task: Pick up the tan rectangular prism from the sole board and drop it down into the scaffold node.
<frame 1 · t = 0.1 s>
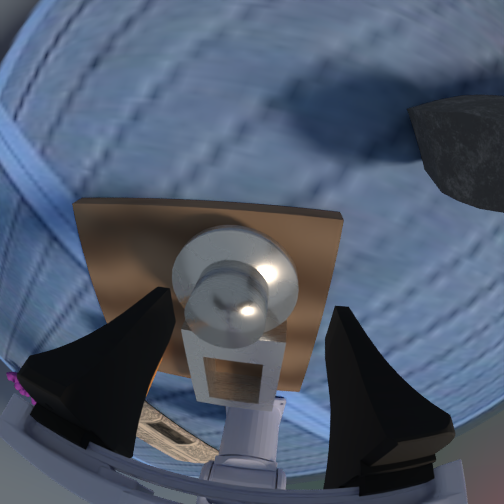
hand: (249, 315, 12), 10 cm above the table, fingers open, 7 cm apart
sole board: (199, 307, 25), on the table
purple knobby piece: (32, 379, 51), on the table
newspaper: (144, 419, 45), on the table
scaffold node: (238, 355, 26), resting on sole board
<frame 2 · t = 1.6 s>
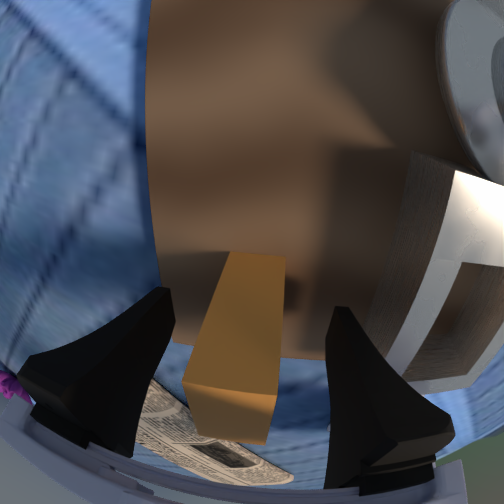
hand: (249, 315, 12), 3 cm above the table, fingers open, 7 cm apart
tan rectangular prism: (255, 289, 13), point 1 cm above the table, touching sole board
sole board: (391, 185, 11), on the table
purple knobby piece: (18, 378, 37), on the table
newspaper: (179, 435, 31), on the table
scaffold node: (441, 287, 12), resting on sole board
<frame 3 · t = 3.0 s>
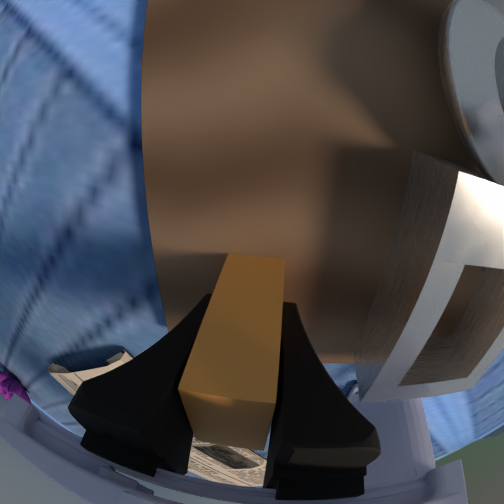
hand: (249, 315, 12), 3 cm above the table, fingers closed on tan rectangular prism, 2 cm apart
tan rectangular prism: (254, 291, 13), point 1 cm above the table, touching gripper, sole board
sole board: (392, 186, 11), on the table
purple knobby piece: (17, 379, 37), on the table
newspaper: (181, 436, 30), on the table
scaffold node: (442, 289, 12), resting on sole board
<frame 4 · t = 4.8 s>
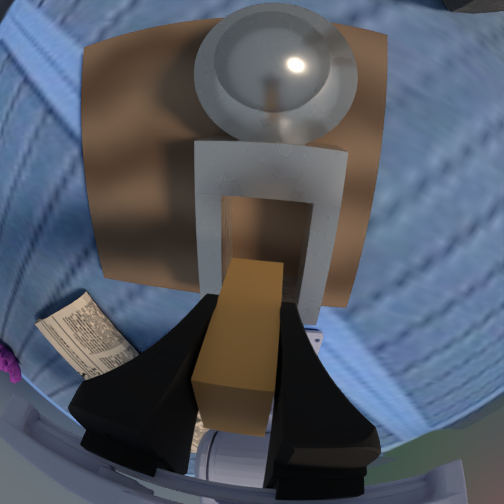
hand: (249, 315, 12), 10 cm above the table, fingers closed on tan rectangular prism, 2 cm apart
tan rectangular prism: (255, 292, 14), point 8 cm above the table, touching gripper
sole board: (216, 161, 19), on the table
purple knobby piece: (10, 351, 44), on the table
newspaper: (138, 390, 37), on the table
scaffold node: (267, 232, 19), resting on sole board
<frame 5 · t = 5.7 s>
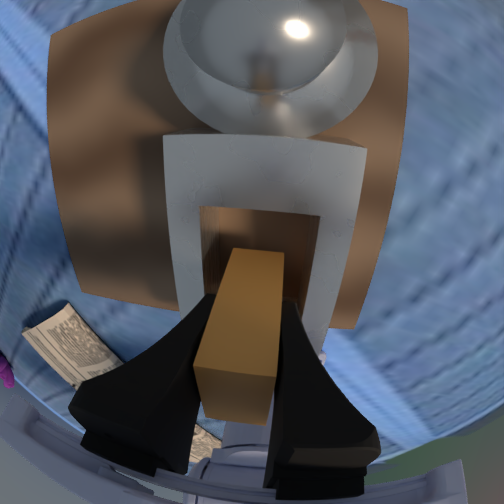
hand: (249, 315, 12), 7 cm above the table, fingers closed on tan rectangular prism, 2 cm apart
tan rectangular prism: (256, 282, 15), point 4 cm above the table, touching gripper
sole board: (199, 159, 15), on the table
purple knobby piece: (3, 355, 41), on the table
newspaper: (131, 401, 34), on the table
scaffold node: (261, 245, 16), resting on sole board
when the fingers open (6 cm above the table, at t = 6.9 s): tan rectangular prism stays where it is, resting on sole board.
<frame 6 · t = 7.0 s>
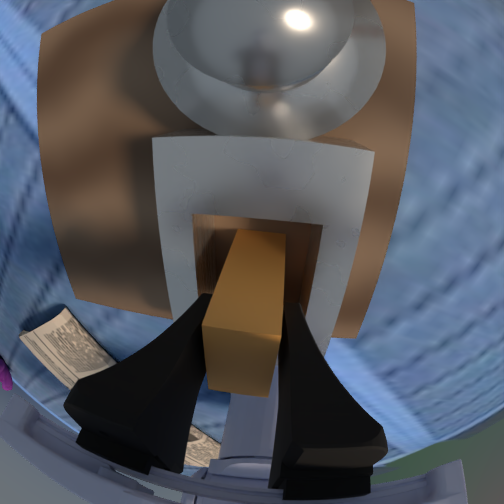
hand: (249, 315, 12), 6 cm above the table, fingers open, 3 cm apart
tan rectangular prism: (259, 263, 15), point 2 cm above the table, touching sole board
sole board: (194, 162, 14), on the table
purple knobby piece: (1, 358, 40), on the table
newspaper: (131, 406, 33), on the table
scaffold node: (260, 253, 15), resting on sole board
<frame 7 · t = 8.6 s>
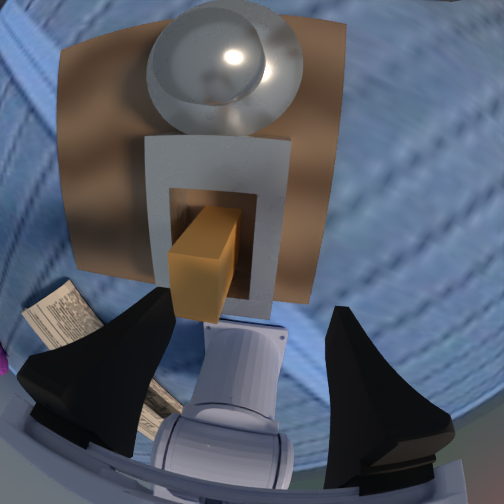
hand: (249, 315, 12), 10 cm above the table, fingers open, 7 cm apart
tan rectangular prism: (222, 233, 20), point 1 cm above the table, touching sole board
sole board: (176, 156, 19), on the table
newspaper: (121, 383, 36), on the table
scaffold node: (223, 225, 19), resting on sole board
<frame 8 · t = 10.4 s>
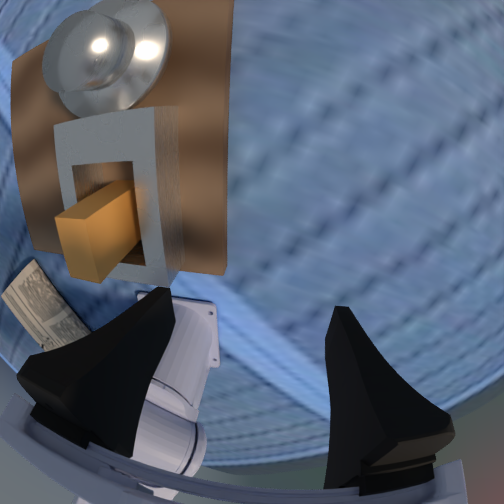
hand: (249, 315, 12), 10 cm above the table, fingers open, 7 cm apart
tan rectangular prism: (132, 205, 19), point 1 cm above the table, touching sole board
sole board: (97, 139, 18), on the table
newspaper: (92, 364, 37), on the table
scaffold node: (131, 197, 19), resting on sole board
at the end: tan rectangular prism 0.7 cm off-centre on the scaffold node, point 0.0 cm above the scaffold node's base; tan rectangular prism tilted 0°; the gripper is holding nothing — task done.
